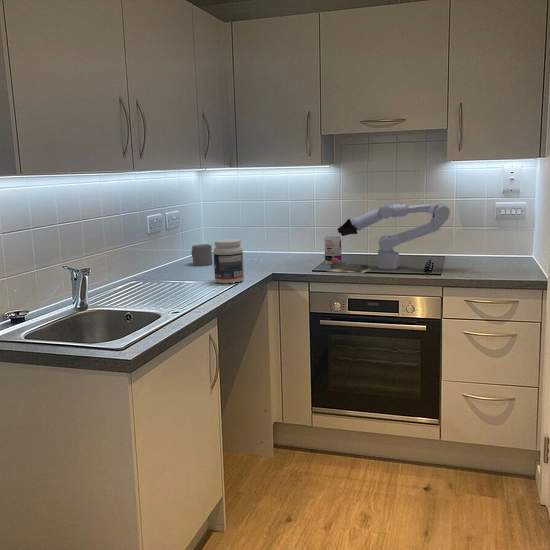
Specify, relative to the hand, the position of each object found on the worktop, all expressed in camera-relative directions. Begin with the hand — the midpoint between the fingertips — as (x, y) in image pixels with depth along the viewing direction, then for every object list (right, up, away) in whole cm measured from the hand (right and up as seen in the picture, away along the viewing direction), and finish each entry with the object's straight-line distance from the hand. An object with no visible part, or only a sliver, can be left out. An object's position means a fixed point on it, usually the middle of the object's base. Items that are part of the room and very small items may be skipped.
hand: (339, 232), depth 289 cm
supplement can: (-1, -15, +17) cm, 23 cm away
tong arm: (+4, -17, -3) cm, 18 cm away
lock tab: (-2, -14, +2) cm, 14 cm away
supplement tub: (-50, -23, -15) cm, 57 cm away
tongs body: (+4, -17, 0) cm, 17 cm away
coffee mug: (-68, -14, +35) cm, 78 cm away
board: (+4, -18, -2) cm, 19 cm away
